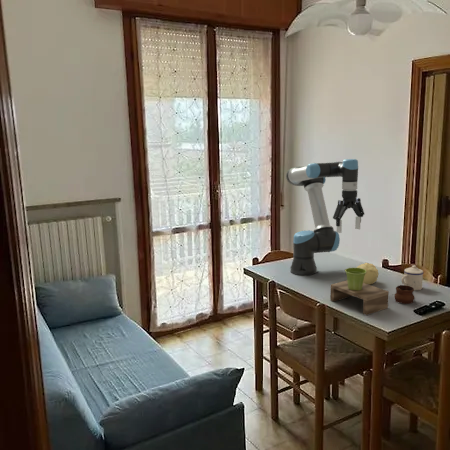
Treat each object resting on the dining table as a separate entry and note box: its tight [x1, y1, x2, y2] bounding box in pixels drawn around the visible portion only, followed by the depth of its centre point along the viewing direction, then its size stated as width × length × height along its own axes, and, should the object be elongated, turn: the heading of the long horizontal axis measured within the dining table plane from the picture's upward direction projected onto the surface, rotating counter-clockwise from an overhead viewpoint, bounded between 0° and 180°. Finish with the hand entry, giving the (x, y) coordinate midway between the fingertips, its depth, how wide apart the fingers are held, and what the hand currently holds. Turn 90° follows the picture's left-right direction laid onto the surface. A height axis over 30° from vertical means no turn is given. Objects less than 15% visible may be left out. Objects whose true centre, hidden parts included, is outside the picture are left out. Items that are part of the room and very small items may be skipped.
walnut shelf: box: [329, 279, 390, 316], centre depth 210 cm, size 22×14×8 cm, turn 32°
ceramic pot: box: [393, 284, 415, 305], centre depth 212 cm, size 18×18×7 cm
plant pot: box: [344, 267, 366, 291], centre depth 207 cm, size 9×9×9 cm
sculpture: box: [356, 262, 380, 285], centre depth 239 cm, size 12×12×11 cm
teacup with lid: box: [401, 264, 424, 291], centre depth 229 cm, size 12×9×12 cm
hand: (348, 230), depth 234 cm, fingers open, 13 cm apart
